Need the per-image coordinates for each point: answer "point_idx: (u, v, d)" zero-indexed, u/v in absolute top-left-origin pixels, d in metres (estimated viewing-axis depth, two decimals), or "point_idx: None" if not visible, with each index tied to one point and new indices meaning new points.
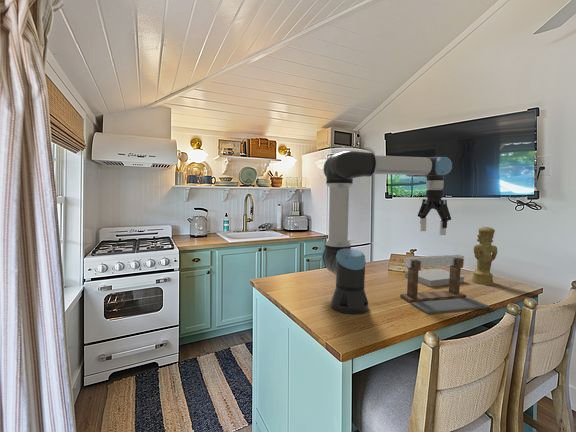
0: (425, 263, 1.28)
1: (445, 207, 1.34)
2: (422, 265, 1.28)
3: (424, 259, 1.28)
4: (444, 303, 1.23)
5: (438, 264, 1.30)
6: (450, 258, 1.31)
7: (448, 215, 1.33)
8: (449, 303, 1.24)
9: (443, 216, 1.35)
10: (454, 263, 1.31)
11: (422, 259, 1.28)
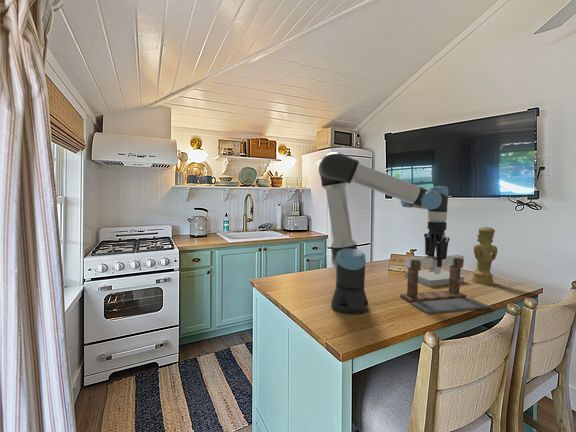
0: (425, 263, 1.28)
1: (445, 246, 1.25)
2: (422, 265, 1.28)
3: (424, 259, 1.28)
4: (444, 303, 1.23)
5: None
6: (450, 258, 1.31)
7: (444, 255, 1.25)
8: (449, 303, 1.24)
9: (439, 254, 1.27)
10: (454, 263, 1.31)
11: (422, 259, 1.28)
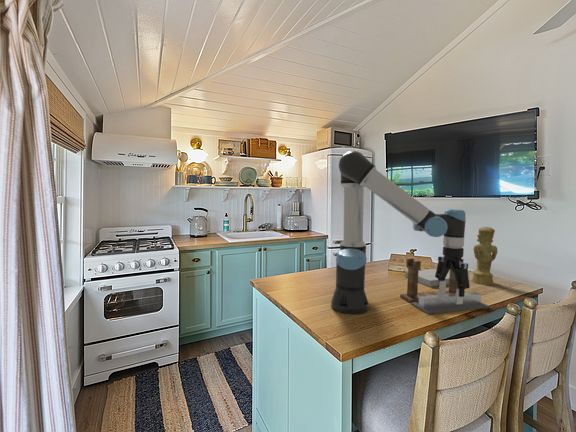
0: (440, 302, 1.19)
1: (465, 273, 1.14)
2: (437, 305, 1.19)
3: (439, 299, 1.19)
4: None
5: (454, 303, 1.21)
6: (466, 296, 1.22)
7: (467, 283, 1.14)
8: None
9: (461, 283, 1.16)
10: (470, 302, 1.23)
11: (437, 299, 1.19)
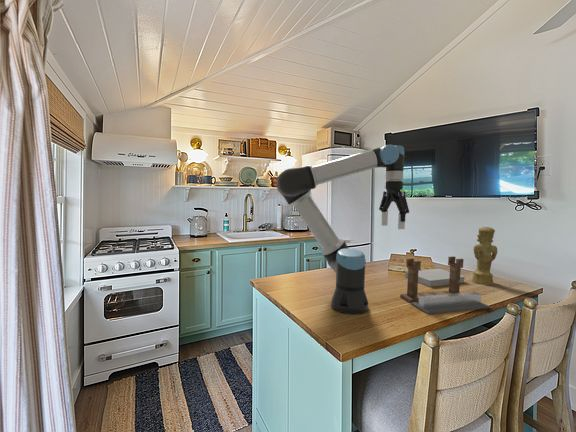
0: (440, 302, 1.19)
1: (403, 199, 1.25)
2: (437, 305, 1.19)
3: (439, 299, 1.19)
4: None
5: (454, 303, 1.21)
6: (466, 296, 1.22)
7: (406, 208, 1.24)
8: None
9: (401, 209, 1.26)
10: (470, 302, 1.23)
11: (437, 299, 1.19)
